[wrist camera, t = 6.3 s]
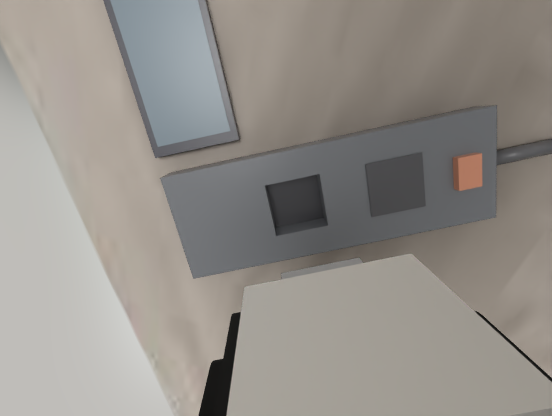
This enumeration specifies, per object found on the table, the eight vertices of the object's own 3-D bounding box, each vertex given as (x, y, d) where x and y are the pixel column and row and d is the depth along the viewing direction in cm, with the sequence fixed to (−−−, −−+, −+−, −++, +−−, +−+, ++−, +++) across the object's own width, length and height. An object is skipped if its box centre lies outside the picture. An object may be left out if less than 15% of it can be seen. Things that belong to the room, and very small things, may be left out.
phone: (191, -62, 21) (187, -71, 20) (240, 138, 25) (238, 139, 24) (95, -39, 21) (87, -46, 20) (159, 156, 25) (154, 158, 24)
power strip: (560, 87, 24) (602, 83, 21) (553, 192, 27) (590, 202, 24) (170, 172, 25) (156, 180, 22) (199, 265, 28) (191, 282, 25)
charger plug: (383, 227, 11) (582, 410, 4) (395, 339, 12) (559, 617, 5) (249, 254, 11) (218, 475, 4) (276, 362, 12) (287, 659, 6)
